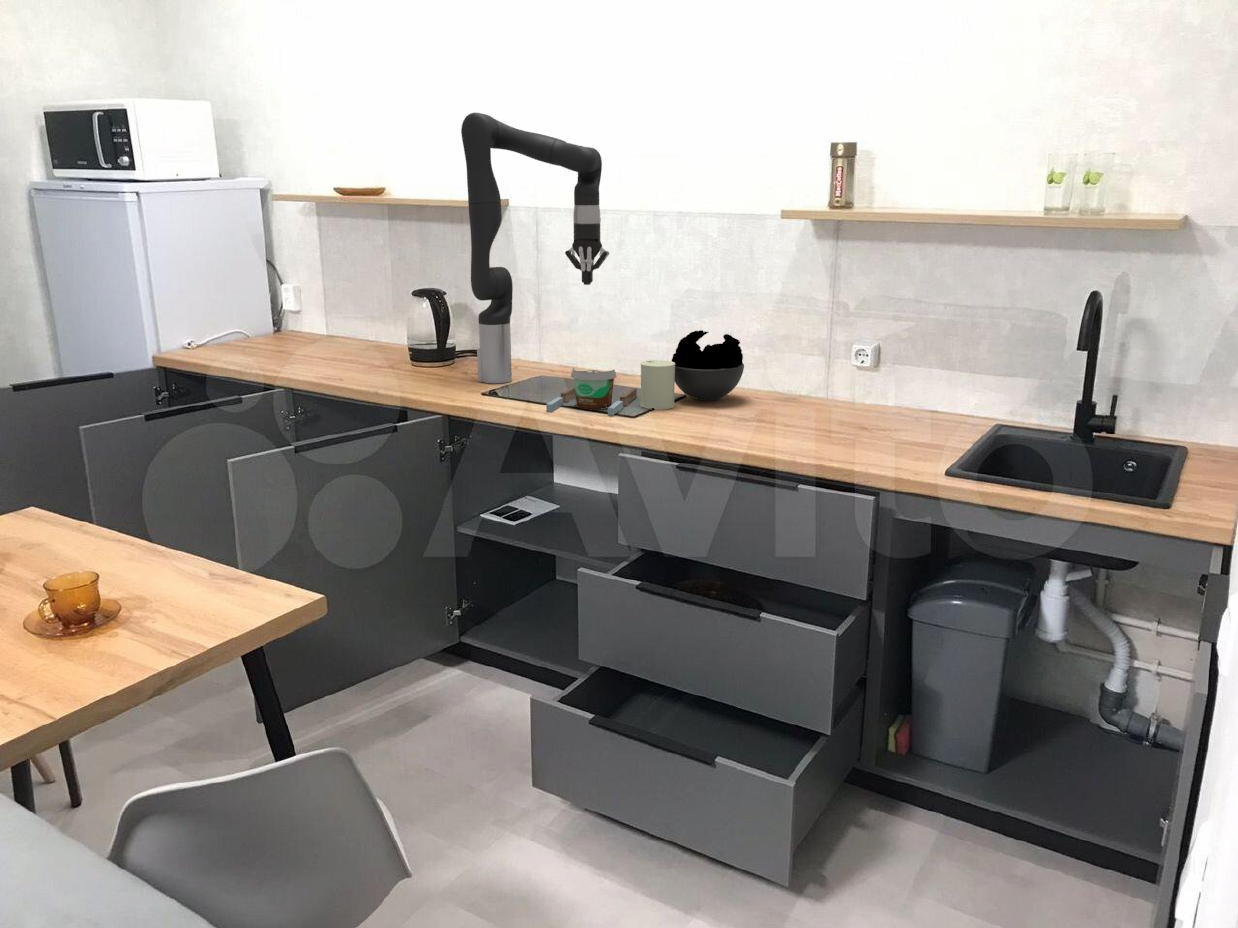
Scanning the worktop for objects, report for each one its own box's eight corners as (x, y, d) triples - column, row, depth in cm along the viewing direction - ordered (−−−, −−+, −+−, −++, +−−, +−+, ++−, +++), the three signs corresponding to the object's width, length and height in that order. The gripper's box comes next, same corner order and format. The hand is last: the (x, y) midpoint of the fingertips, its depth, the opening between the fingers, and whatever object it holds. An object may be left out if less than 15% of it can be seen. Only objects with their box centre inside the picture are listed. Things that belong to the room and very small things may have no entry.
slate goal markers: (546, 411, 255) (546, 404, 255) (557, 404, 264) (557, 397, 263) (613, 416, 251) (613, 408, 250) (622, 408, 259) (622, 401, 259)
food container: (565, 409, 259) (564, 371, 256) (572, 404, 264) (571, 367, 261) (610, 411, 256) (610, 373, 253) (616, 406, 261) (616, 369, 258)
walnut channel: (560, 402, 266) (560, 393, 265) (574, 393, 277) (574, 384, 276) (625, 406, 261) (625, 397, 261) (636, 397, 273) (636, 388, 272)
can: (656, 400, 268) (657, 357, 265) (681, 406, 262) (682, 361, 259) (632, 405, 262) (633, 361, 259) (658, 411, 256) (658, 365, 253)
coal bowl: (658, 395, 275) (658, 327, 270) (723, 390, 282) (725, 324, 277) (687, 410, 257) (688, 338, 252) (755, 404, 264) (758, 334, 259)
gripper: (560, 222, 275) (561, 285, 279) (605, 222, 271) (606, 286, 276) (568, 221, 282) (569, 282, 286) (613, 221, 278) (613, 284, 283)
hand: (587, 284), depth 281 cm, fingers closed
